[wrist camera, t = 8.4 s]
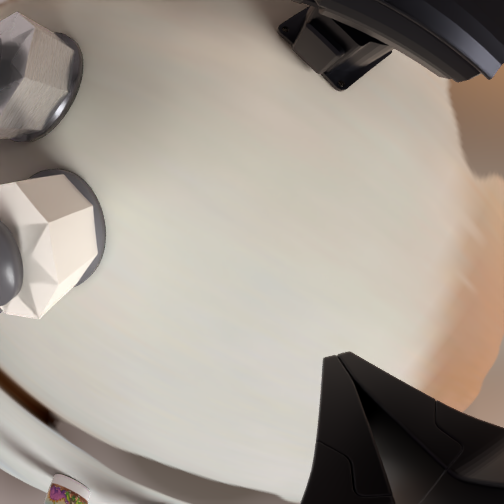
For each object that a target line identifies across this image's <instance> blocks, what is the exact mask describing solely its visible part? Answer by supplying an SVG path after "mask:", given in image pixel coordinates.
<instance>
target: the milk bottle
mask: <svg viewBox="0 0 504 504" xmlns="http://www.w3.org/2000/svg"><path fill="white" fill-rule="evenodd" d="M89 496H90V491H89V489H88V488H87V487H85V486H84V485H83V484H81V483H79V482H78V481H76V480H74V479H72V478H70V477H68V476H65V475H62V474H56V475H54V477H53V480H52V482H51V485H50V487H49V490H48V493H47V495H46V498H45V501H44V504H88V500H89Z"/></svg>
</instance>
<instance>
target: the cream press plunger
mask: <svg viewBox="0 0 504 504" xmlns="http://www.w3.org/2000/svg"><path fill="white" fill-rule="evenodd" d="M22 284H23V263H22V258H21V254H20V250H19V247H18V245H17V242H16V240H15V238H14V236H13V235H12V233H11V232H10V230H9V229H8V228H7V226H6V225H5V224H4V223H3V222H1V221H0V306H3V305H5V304H7V303H8V302H9V301H10V300H12V299H13V298H14V297H16V296H17V295H18V293H19V292H20V290H21V287H22Z"/></svg>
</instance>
